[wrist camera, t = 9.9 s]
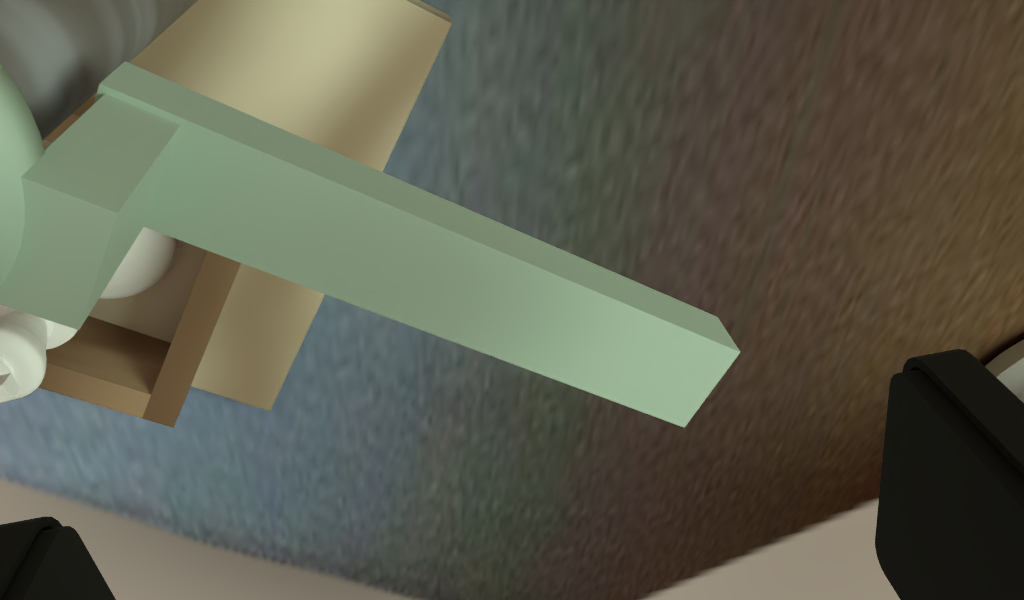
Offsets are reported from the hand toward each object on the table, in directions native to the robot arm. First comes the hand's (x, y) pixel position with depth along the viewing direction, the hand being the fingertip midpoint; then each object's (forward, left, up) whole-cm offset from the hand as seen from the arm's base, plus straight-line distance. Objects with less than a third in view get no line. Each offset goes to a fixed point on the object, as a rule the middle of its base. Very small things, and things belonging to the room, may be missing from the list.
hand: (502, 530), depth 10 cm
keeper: (+3, -1, -6) cm, 6 cm away
